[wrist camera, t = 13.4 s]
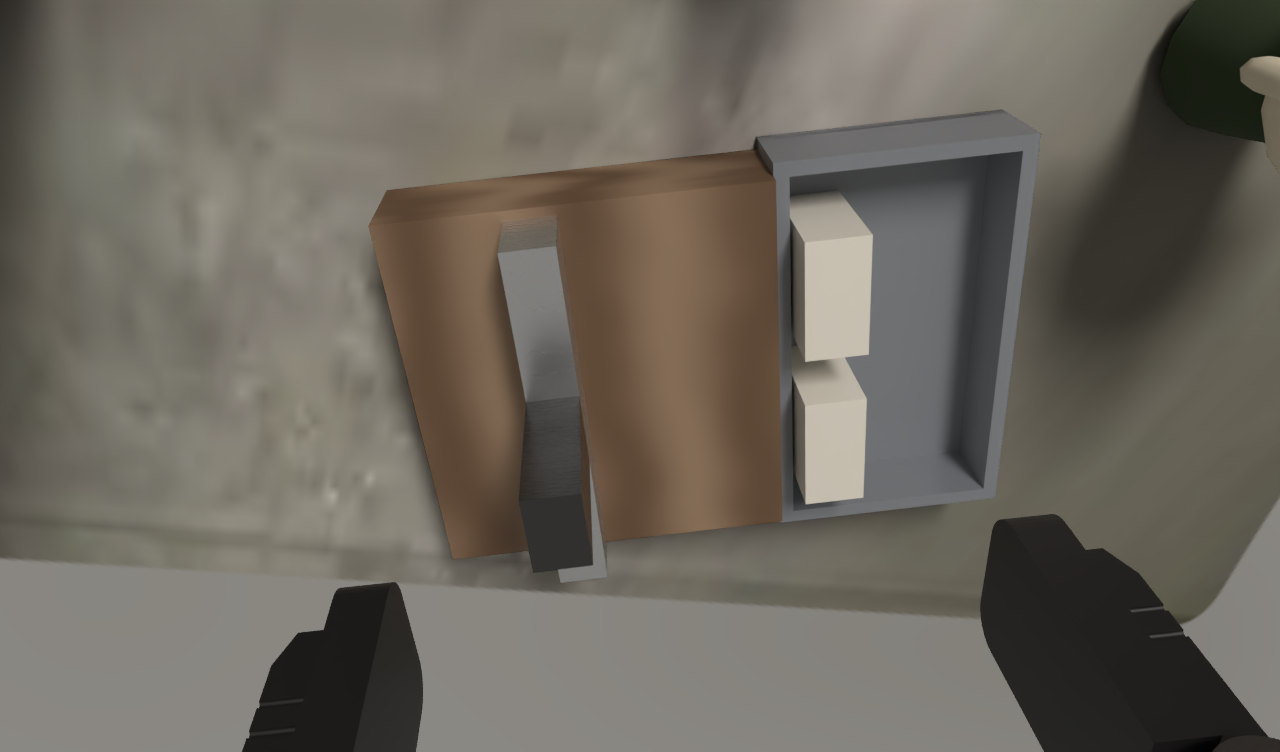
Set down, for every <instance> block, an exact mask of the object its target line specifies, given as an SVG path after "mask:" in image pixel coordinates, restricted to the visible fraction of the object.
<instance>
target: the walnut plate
mask: <svg viewBox="0 0 1280 752" xmlns="http://www.w3.org/2000/svg"><path fill="white" fill-rule="evenodd" d="M549 216H557V220H558V226H559V233H560V239H561V246H562V252H563V259H564V265H565V272H566V278H567V285H568V291H569V298H570V305H571V311H572V318H573V324H574V331H575V337H576V344H577V350H578V357H579V363H580V370H581V376H582V383H583V389H584V396H585V403H586V409H587V416H588V422H589V429H590V435H591V442H592V448H593V455H594V461H595V468H596V474H597V481H598V487H599V494H600V501H601V507H602V514H603V520H604V527H605V537H606V542H608V541H616V540H625V539H634V538H642V537H651V536H659V535H668V534H677V533H685V532H694V531H703V530H711V529H720V528H728V527H737V526H746V525H754V524H763V523H771V522H780V521H783V519H782V466H781V414H780V362H779V310H778V258H777V205H776V180H775V178H774V176H773V175H772V173H771V171H770V170H769V168H768V167H767V165H766V163H765V162H764V160H763V158H762V157H761V155H760V154H759V152H758V150H757V149H755V150H746V151H737V152H728V153H719V154H710V155H701V156H692V157H683V158H674V159H665V160H656V161H647V162H638V163H629V164H620V165H611V166H602V167H593V168H584V169H575V170H566V171H557V172H548V173H539V174H530V175H521V176H512V177H503V178H494V179H485V180H476V181H467V182H458V183H449V184H440V185H431V186H422V187H413V188H404V189H395V190H387V191H386V193H385V195H384V197H383V199H382V201H381V203H380V205H379V207H378V209H377V211H376V212H375V214H374V216H373V218H372V220H371V222H370V224H369V230H370V234H371V238H372V242H373V246H374V250H375V254H376V258H377V262H378V266H379V269H380V273H381V277H382V281H383V285H384V289H385V293H386V297H387V301H388V305H389V309H390V313H391V317H392V321H393V325H394V329H395V332H396V336H397V340H398V344H399V348H400V352H401V356H402V360H403V364H404V368H405V372H406V376H407V380H408V384H409V388H410V391H411V395H412V399H413V403H414V407H415V411H416V415H417V419H418V423H419V427H420V431H421V435H422V439H423V443H424V447H425V451H426V454H427V458H428V462H429V466H430V470H431V474H432V478H433V482H434V486H435V490H436V494H437V498H438V502H439V506H440V510H441V513H442V517H443V521H444V525H445V529H446V533H447V537H448V541H449V545H450V549H451V553H452V557H453V559H461V558H470V557H479V556H487V555H496V554H504V553H513V552H522V551H529V549H528V544H527V539H526V535H525V530H524V525H523V520H522V516H521V511H520V506H519V488H520V475H521V462H522V449H523V435H524V422H525V409H526V400H525V395H524V389H523V384H522V379H521V374H520V368H519V363H518V358H517V353H516V347H515V342H514V337H513V332H512V327H511V321H510V316H509V311H508V306H507V300H506V295H505V290H504V285H503V279H502V274H501V269H500V264H499V259H498V247H499V241H500V236H501V230H502V224H503V222H507V221H515V220H523V219H532V218H540V217H549Z"/></svg>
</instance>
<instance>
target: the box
mask: <svg viewBox="0 0 1280 752" xmlns="http://www.w3.org/2000/svg"><path fill="white" fill-rule="evenodd" d="M756 138H757V150H758V152H759V154H760V155H761V157H762V158H763V160H764V162H765V163H766V165H767V167H768V168H769V170H770V171H771V173H772V175H773V176H774V178H775V180H776V205H777V258H778V310H779V362H780V414H781V466H782V519H783V521H780V523H783V522H792V521H800V520H809V519H818V518H826V517H835V516H844V515H852V514H861V513H869V512H878V511H887V510H895V509H904V508H912V507H921V506H930V505H938V504H947V503H955V502H964V501H973V500H981V499H990V498H995V495H996V487H997V479H998V471H999V463H1000V455H1001V447H1002V439H1003V431H1004V424H1005V416H1006V408H1007V400H1008V392H1009V384H1010V376H1011V368H1012V360H1013V352H1014V344H1015V336H1016V328H1017V320H1018V312H1019V305H1020V297H1021V289H1022V281H1023V273H1024V265H1025V257H1026V249H1027V241H1028V233H1029V225H1030V217H1031V209H1032V201H1033V194H1034V186H1035V178H1036V170H1037V162H1038V154H1039V146H1040V138H1041V133H1040V132H1038V131H1037V130H1035V129H1033V128H1032V127H1030V126H1029V125H1027V124H1025V123H1024V122H1022V121H1020V120H1019V119H1017V118H1016V117H1014V116H1012V115H1011V114H1009V113H1007V112H1006V111H1004V110H995V111H986V112H977V113H968V114H959V115H950V116H941V117H932V118H923V119H914V120H905V121H896V122H887V123H878V124H869V125H860V126H851V127H842V128H833V129H824V130H815V131H806V132H797V133H788V134H779V135H770V136H761V137H756ZM836 190H838V191H839V192H840V193H841V194H842V196H843V197H844V198H845V200H846V201H847V202H848V203H849V205H850V206H851V207H852V209H853V210H854V211H855V212H856V214H857V215H858V216H859V218H860V219H861V220H862V221H863V223H864V224H865V225H866V227H867V228H868V229H869V230H870V232H871V233H872V234H873V246H872V274H871V303H870V332H869V355H861V356H852V357H845V359H846V361H847V363H848V365H849V367H850V368H851V370H852V372H853V374H854V376H855V378H856V380H857V381H858V383H859V385H860V387H861V389H862V391H863V393H864V394H865V396H866V398H867V409H866V437H865V466H864V494H863V498H856V499H847V500H839V501H830V502H822V503H813V504H805V501H804V499H803V496H802V493H801V490H800V487H799V485H798V482H797V479H796V476H795V473H794V471H793V439H792V353H791V346H797V343H796V340H795V338H794V336H793V334H792V332H791V267H790V196H792V195H801V194H810V193H819V192H827V191H836Z"/></svg>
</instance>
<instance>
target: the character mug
mask: <svg viewBox="0 0 1280 752" xmlns="http://www.w3.org/2000/svg"><path fill="white" fill-rule="evenodd" d="M1160 76H1161V80H1162V84H1163V88H1164V92H1165V96H1166V100H1167V104H1168V106H1169V107H1170V108H1171V109H1172V110H1173V111H1174V112H1175V113H1176V114H1177V115H1178V116H1179V117H1180V118H1182V119H1183V120H1184V121H1185V122H1186V123H1187V124H1188V125H1191V126H1195V127H1199V128H1202V129H1206V130H1209V131H1213V132H1216V133H1220V134H1224V135H1229V136H1234V137H1239V138H1244V139H1249V140H1254V141H1259V142H1264V143H1265V144H1266V152H1267V157H1268V158H1269V160H1270V161H1271V162H1272V164H1273V165H1274V167H1275V168H1276V170H1277V171H1278V173H1279V174H1280V0H1196V1H1195V2H1194V4H1193V5H1192V7H1191V8H1190V10H1189V12H1188V13H1187V15H1186V16H1185V18H1184V19H1183V21H1182V22H1181V24H1180V26H1179V27H1178V29H1177V30H1176V32H1175V33H1174V35H1173V36H1172V38H1171V41H1170V45H1169V48H1168V51H1167V54H1166V57H1165V60H1164V63H1163V66H1162V70H1161V73H1160Z"/></svg>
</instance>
